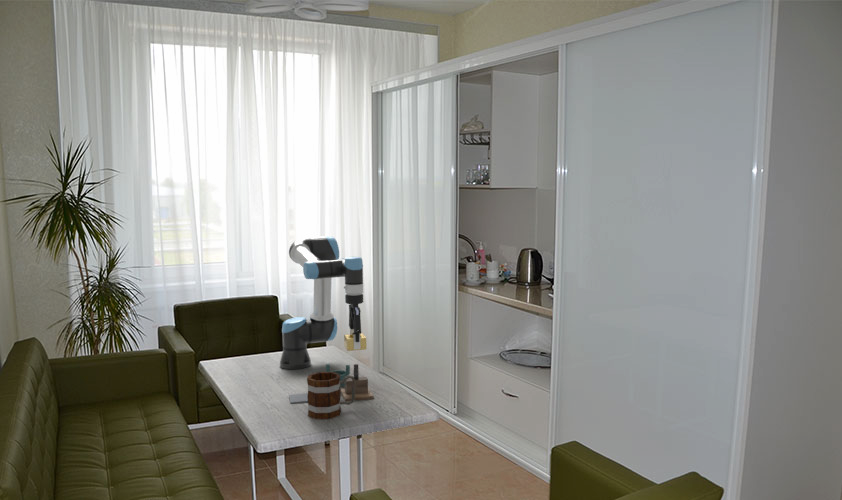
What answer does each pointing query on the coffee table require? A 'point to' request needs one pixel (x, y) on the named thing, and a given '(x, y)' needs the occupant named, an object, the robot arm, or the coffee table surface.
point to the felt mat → (298, 398)
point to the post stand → (357, 387)
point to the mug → (326, 394)
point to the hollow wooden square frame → (350, 342)
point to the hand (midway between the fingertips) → (355, 346)
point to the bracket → (340, 372)
